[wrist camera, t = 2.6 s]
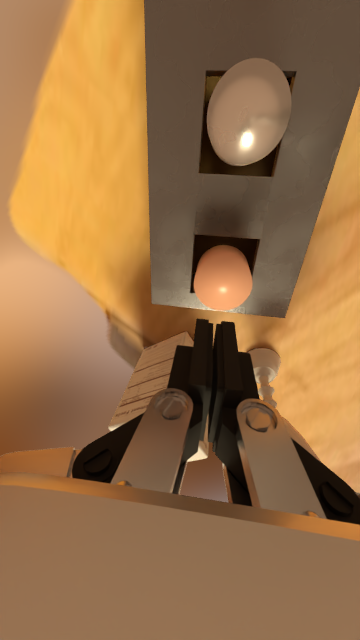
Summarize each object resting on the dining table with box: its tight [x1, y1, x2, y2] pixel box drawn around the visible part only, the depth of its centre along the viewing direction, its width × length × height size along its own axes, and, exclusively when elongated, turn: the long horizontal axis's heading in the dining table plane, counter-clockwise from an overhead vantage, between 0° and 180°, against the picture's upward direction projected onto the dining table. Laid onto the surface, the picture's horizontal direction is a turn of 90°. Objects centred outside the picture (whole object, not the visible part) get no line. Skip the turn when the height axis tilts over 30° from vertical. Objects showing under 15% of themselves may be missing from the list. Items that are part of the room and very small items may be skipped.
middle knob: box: [207, 58, 291, 166], centre depth 13 cm, size 4×4×3 cm
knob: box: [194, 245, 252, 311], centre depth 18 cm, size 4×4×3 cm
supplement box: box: [108, 331, 208, 462], centre depth 28 cm, size 7×7×13 cm
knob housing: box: [144, 0, 360, 318], centre depth 17 cm, size 12×26×6 cm, turn 177°
